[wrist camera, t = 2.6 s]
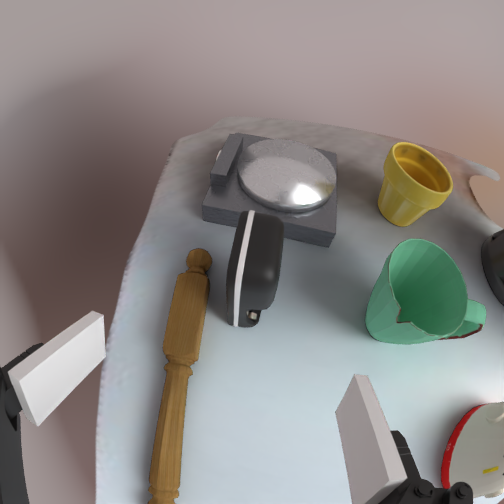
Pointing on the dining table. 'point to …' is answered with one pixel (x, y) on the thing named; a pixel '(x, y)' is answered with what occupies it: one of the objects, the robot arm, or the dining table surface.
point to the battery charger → (253, 267)
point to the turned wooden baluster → (178, 374)
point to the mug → (421, 298)
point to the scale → (275, 186)
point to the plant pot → (412, 184)
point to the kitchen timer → (477, 452)
